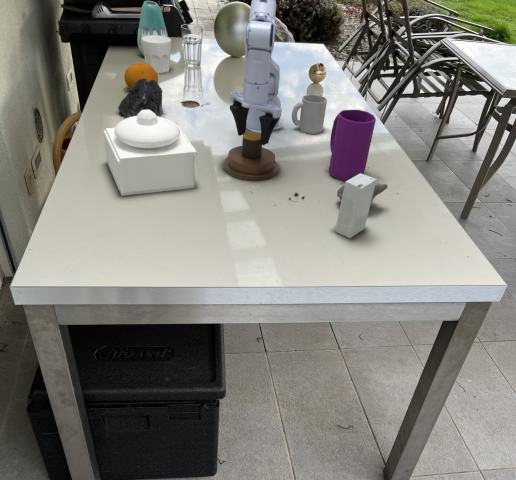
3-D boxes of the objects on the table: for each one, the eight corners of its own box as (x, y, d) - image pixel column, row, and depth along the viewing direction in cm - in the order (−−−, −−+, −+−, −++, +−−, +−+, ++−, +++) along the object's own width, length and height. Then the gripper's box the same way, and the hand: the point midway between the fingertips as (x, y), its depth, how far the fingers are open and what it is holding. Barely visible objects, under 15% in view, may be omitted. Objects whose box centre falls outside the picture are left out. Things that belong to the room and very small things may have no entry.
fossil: (371, 196, 131) (379, 164, 126) (387, 214, 125) (396, 182, 119) (329, 198, 128) (335, 166, 123) (343, 217, 122) (350, 185, 117)
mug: (337, 183, 135) (347, 123, 125) (314, 157, 145) (322, 100, 135) (369, 180, 137) (382, 121, 127) (344, 155, 148) (355, 99, 138)
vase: (175, 58, 204) (173, 3, 192) (151, 62, 197) (148, 6, 185) (156, 50, 209) (153, -3, 197) (132, 55, 203) (127, -1, 190)
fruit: (134, 83, 179) (131, 57, 174) (163, 88, 177) (162, 62, 172) (119, 92, 171) (117, 65, 166) (150, 98, 170) (148, 71, 164)
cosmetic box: (348, 222, 121) (359, 171, 112) (365, 229, 119) (377, 178, 110) (333, 232, 117) (343, 180, 109) (350, 240, 115) (362, 187, 107)
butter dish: (107, 163, 133) (99, 97, 123) (177, 157, 139) (175, 93, 128) (121, 196, 122) (113, 126, 111) (196, 187, 127) (196, 120, 117)
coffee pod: (249, 149, 138) (250, 129, 134) (265, 154, 136) (266, 135, 132) (237, 155, 134) (238, 135, 131) (254, 160, 132) (255, 141, 129)
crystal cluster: (122, 125, 154) (121, 90, 147) (114, 104, 162) (114, 70, 155) (167, 126, 158) (169, 92, 151) (158, 106, 167) (159, 73, 160)
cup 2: (325, 134, 158) (330, 103, 152) (293, 134, 156) (297, 103, 150) (318, 124, 163) (322, 94, 157) (287, 125, 161) (290, 94, 155)
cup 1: (170, 75, 188) (168, 44, 181) (141, 73, 188) (139, 41, 181) (173, 67, 195) (172, 36, 189) (146, 64, 195) (144, 34, 188)
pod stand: (255, 153, 145) (256, 140, 142) (288, 173, 137) (290, 159, 135) (213, 163, 138) (213, 150, 135) (245, 185, 130) (246, 171, 128)
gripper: (222, 75, 124) (220, 134, 133) (270, 92, 118) (265, 152, 127) (242, 70, 128) (239, 127, 137) (289, 86, 122) (283, 145, 131)
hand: (252, 139), depth 132 cm, fingers open, 7 cm apart
